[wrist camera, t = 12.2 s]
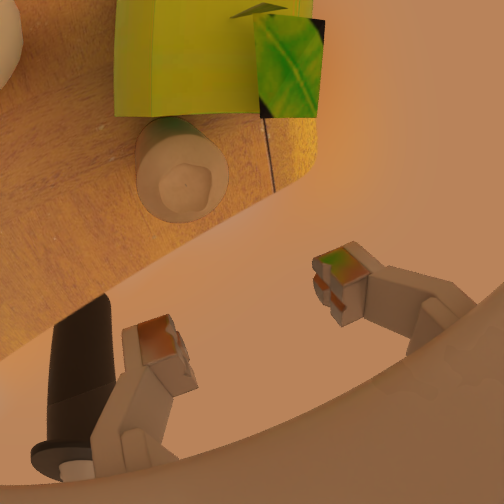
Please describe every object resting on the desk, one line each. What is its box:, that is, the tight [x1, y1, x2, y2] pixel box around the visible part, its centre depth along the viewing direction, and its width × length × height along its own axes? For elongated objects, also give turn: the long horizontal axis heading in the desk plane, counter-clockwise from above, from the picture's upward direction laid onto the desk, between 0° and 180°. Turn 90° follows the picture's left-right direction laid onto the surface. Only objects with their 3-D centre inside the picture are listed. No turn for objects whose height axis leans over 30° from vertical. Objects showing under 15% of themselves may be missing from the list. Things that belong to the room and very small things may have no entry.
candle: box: [135, 117, 229, 223], centre depth 21 cm, size 6×6×10 cm
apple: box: [114, 0, 325, 118], centre depth 14 cm, size 11×10×15 cm
